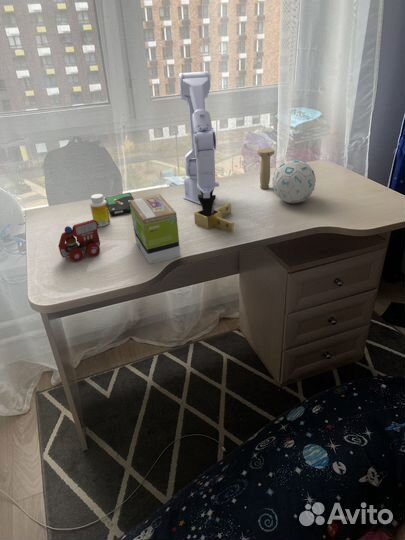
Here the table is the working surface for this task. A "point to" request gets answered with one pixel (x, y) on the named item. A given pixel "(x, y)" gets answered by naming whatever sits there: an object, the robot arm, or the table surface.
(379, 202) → the table surface
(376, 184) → the table surface
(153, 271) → the table surface
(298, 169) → the puzzle ball
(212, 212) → the pin
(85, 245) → the toy fire truck
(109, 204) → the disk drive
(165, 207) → the tea box
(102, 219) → the supplement bottle
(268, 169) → the handle
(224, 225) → the gold square socket frame
